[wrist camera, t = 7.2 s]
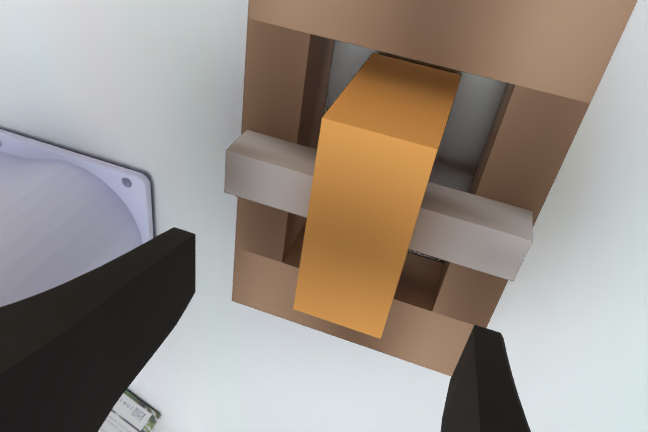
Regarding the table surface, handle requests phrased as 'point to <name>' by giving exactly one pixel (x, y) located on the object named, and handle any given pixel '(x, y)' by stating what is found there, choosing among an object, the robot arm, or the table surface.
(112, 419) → the syrup box
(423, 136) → the orange upright block
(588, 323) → the table surface
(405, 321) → the shelf
